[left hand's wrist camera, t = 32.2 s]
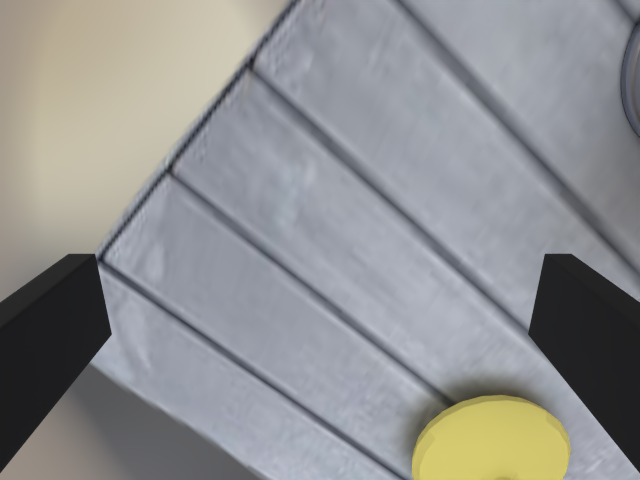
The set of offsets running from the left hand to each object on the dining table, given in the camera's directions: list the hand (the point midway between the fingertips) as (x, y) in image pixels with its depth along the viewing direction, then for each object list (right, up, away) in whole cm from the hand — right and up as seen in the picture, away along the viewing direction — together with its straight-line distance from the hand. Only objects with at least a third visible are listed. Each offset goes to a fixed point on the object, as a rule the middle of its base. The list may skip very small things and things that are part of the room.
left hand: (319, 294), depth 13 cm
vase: (+17, -19, +33) cm, 42 cm away
